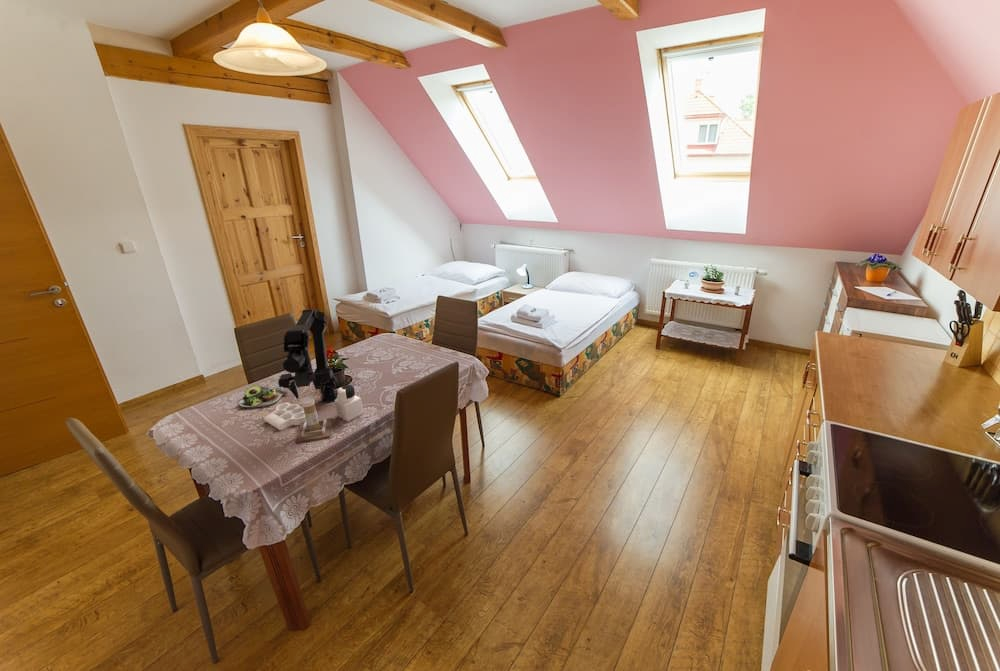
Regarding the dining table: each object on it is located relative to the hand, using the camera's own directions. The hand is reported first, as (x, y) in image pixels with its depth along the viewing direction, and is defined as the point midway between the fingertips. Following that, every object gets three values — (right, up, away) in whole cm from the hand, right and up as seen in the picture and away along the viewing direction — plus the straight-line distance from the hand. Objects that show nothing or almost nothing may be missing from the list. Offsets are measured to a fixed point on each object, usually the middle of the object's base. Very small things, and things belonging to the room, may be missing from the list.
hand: (310, 396), depth 166 cm
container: (+12, -9, +11) cm, 19 cm away
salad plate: (-34, -5, +25) cm, 42 cm away
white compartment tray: (-13, -11, +10) cm, 20 cm away
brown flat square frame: (+2, -14, +1) cm, 14 cm away
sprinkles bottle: (+2, -13, 0) cm, 13 cm away
